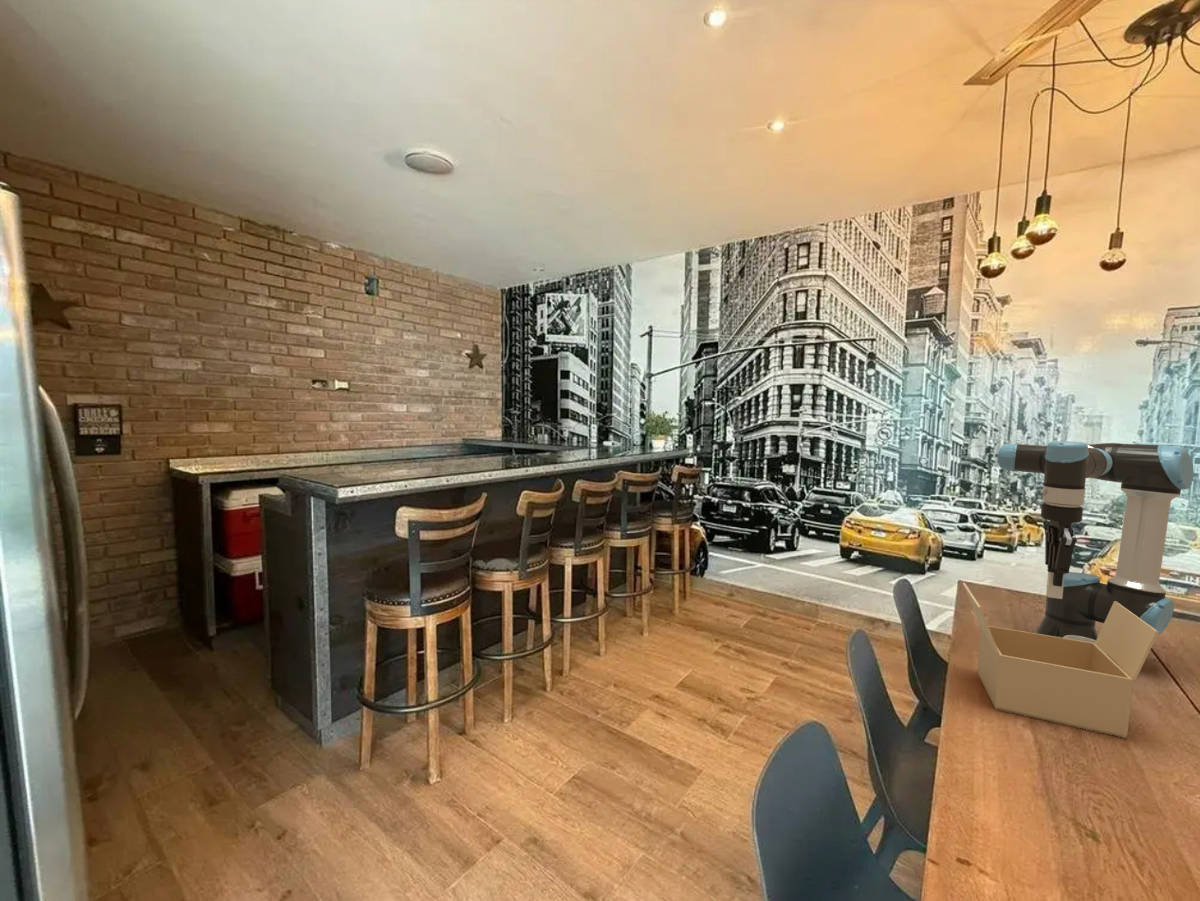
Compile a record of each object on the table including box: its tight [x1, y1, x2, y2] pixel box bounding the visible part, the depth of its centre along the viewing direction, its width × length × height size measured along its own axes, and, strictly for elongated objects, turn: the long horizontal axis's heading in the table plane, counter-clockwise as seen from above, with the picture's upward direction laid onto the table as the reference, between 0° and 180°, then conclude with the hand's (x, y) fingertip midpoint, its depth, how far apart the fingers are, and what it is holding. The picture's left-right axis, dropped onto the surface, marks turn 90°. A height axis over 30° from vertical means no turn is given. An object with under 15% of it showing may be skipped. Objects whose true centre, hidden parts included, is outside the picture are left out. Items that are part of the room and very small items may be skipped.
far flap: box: [962, 582, 999, 654], centre depth 133 cm, size 12×20×1 cm
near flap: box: [1095, 601, 1159, 680], centre depth 121 cm, size 12×20×1 cm
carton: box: [976, 625, 1134, 740], centre depth 128 cm, size 24×20×14 cm
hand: (1054, 597), depth 126 cm, fingers closed
